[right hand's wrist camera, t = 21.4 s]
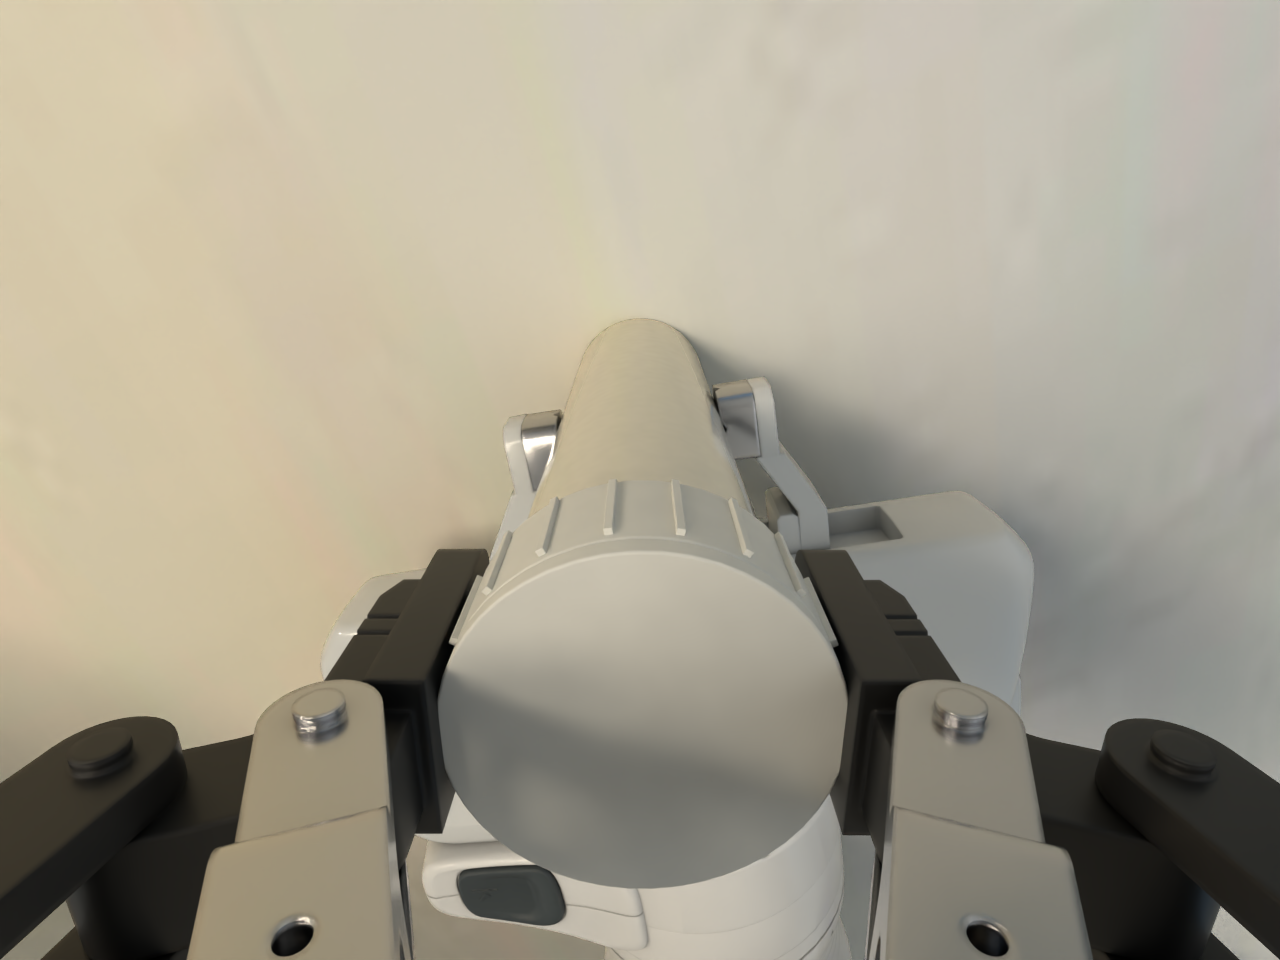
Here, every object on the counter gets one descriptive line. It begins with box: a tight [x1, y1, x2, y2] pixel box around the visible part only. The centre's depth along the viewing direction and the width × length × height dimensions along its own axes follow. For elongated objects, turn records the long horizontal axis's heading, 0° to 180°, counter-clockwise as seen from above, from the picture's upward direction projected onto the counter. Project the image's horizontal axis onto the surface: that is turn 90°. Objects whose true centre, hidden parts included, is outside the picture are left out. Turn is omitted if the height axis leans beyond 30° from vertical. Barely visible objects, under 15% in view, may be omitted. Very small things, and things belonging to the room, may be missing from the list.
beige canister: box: [527, 319, 756, 519], centre depth 18 cm, size 4×4×18 cm
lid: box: [437, 479, 848, 889], centre depth 10 cm, size 5×5×2 cm
